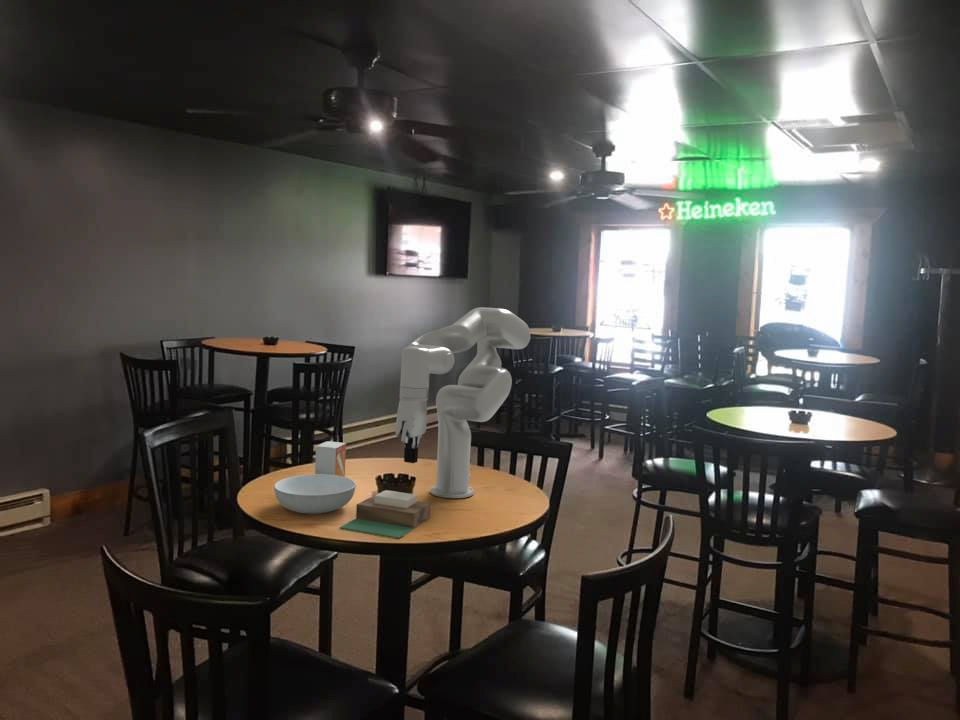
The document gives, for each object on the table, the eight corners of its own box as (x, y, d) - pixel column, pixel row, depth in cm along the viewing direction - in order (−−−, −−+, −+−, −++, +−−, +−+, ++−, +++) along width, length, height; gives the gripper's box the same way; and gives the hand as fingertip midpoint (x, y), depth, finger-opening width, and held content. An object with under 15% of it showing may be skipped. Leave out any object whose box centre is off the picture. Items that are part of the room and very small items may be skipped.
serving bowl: (305, 494, 209) (305, 470, 208) (369, 505, 201) (370, 480, 200) (256, 513, 190) (256, 486, 189) (325, 526, 182) (326, 499, 181)
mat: (355, 520, 188) (355, 518, 188) (413, 529, 182) (413, 528, 182) (339, 528, 180) (339, 527, 180) (399, 539, 175) (399, 537, 175)
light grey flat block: (385, 497, 195) (385, 490, 195) (416, 502, 192) (416, 494, 191) (374, 503, 189) (374, 495, 189) (406, 508, 186) (406, 500, 186)
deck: (374, 509, 197) (375, 494, 197) (429, 518, 192) (430, 503, 191) (356, 519, 188) (356, 504, 187) (413, 529, 182) (414, 513, 182)
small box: (334, 493, 211) (336, 448, 210) (313, 491, 212) (315, 446, 211) (345, 486, 219) (346, 442, 218) (325, 484, 220) (326, 440, 219)
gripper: (413, 389, 204) (409, 455, 206) (388, 394, 190) (385, 465, 192) (438, 392, 202) (434, 459, 203) (415, 397, 188) (411, 469, 189)
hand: (410, 462), depth 197 cm, fingers closed
